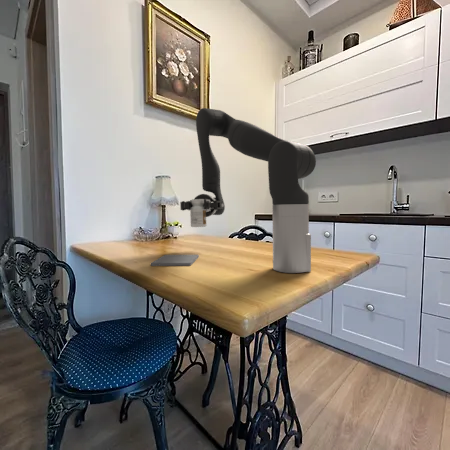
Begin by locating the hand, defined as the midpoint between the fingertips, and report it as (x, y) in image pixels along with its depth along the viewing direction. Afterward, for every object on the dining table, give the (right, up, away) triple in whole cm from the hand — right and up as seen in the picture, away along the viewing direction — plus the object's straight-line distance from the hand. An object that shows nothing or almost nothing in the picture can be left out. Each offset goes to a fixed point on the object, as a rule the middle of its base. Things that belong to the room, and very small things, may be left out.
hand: (196, 205), depth 70 cm
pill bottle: (0, -6, +3) cm, 7 cm away
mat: (-8, -17, +13) cm, 23 cm away
